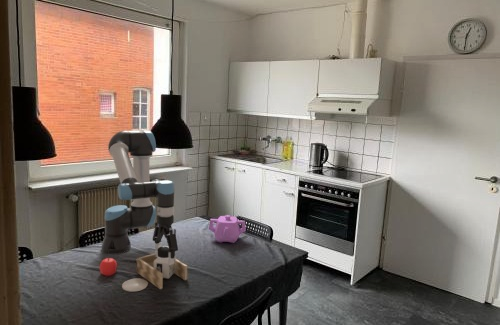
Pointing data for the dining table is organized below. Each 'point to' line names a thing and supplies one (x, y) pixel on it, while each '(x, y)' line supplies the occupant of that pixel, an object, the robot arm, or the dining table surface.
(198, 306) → the dining table surface
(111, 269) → the apple
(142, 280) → the trivet
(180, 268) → the tan open-ended frame
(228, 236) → the teapot
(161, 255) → the container
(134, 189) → the robot arm
